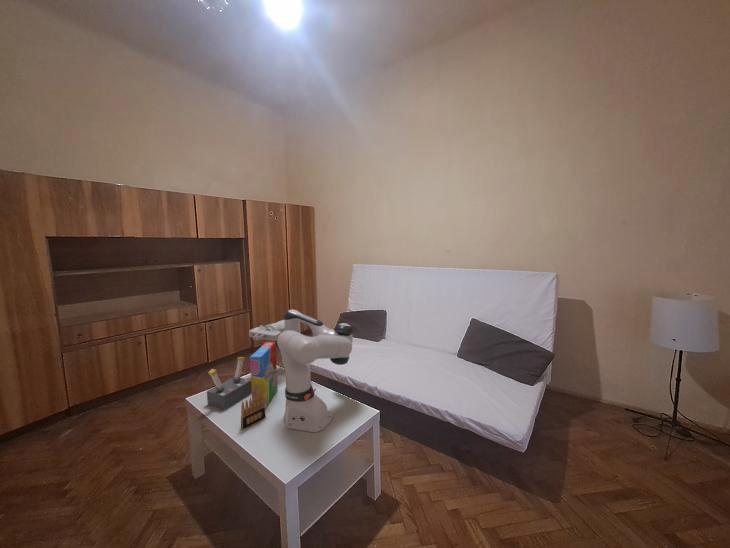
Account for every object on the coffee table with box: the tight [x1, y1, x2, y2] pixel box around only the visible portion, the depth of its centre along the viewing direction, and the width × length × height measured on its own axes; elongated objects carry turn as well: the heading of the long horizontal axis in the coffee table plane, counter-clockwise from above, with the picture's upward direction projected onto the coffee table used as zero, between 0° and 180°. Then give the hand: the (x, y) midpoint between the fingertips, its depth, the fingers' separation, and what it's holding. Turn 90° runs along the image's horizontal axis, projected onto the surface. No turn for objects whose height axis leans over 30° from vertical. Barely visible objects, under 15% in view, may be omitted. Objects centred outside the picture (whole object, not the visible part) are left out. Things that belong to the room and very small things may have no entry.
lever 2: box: [232, 356, 246, 382], centre depth 151 cm, size 3×2×12 cm
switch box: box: [206, 377, 252, 411], centre depth 146 cm, size 12×17×7 cm
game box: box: [249, 341, 279, 410], centre depth 143 cm, size 21×6×27 cm, turn 179°
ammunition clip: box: [240, 393, 267, 430], centre depth 126 cm, size 11×2×12 cm, turn 140°
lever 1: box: [207, 368, 225, 391], centre depth 139 cm, size 3×2×12 cm
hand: (254, 338), depth 160 cm, fingers closed
